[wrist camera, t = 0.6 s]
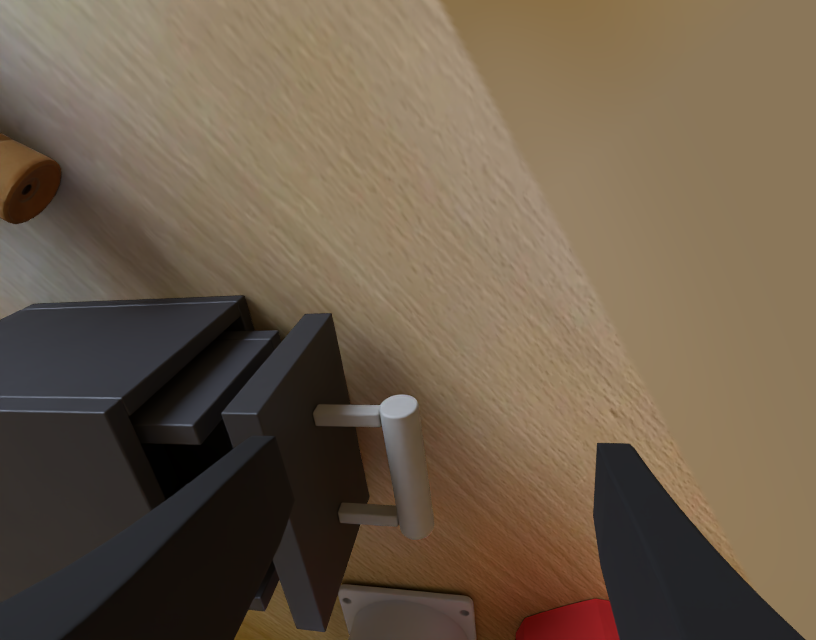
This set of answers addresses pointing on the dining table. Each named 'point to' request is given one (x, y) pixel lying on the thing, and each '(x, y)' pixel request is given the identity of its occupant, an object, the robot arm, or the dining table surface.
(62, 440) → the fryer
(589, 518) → the dining table surface
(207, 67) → the dining table surface
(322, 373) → the drawer
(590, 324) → the dining table surface
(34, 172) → the kendama
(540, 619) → the french fries
